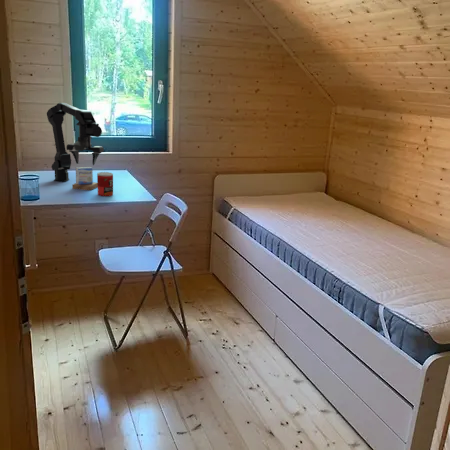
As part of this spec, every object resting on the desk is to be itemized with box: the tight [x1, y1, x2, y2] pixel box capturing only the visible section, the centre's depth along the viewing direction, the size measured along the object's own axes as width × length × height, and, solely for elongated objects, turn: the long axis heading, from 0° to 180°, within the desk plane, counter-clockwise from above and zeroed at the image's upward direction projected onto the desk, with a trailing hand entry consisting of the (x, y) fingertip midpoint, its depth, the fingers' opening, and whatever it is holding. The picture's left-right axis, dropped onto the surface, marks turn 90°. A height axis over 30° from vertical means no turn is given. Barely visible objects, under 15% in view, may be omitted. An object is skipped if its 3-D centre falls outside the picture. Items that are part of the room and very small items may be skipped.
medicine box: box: [75, 166, 94, 185], centre depth 255 cm, size 8×4×9 cm, turn 122°
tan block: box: [72, 181, 98, 191], centre depth 257 cm, size 10×10×3 cm
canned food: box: [96, 171, 114, 197], centre depth 243 cm, size 8×8×11 cm
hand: (85, 164), depth 256 cm, fingers open, 9 cm apart
